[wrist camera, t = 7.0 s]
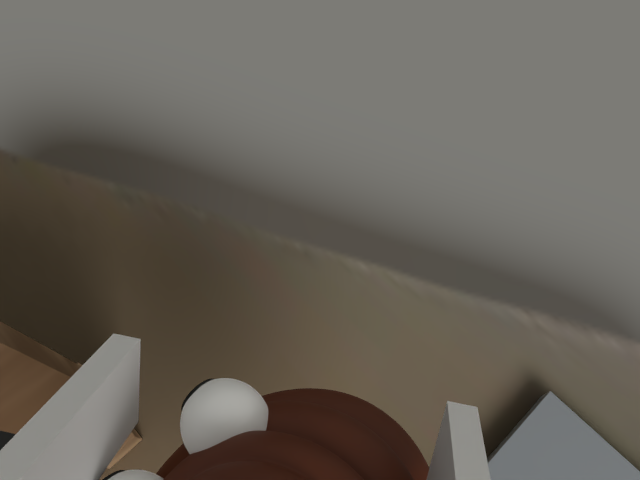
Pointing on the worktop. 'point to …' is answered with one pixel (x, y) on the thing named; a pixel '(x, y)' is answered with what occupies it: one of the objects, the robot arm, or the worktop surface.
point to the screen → (34, 382)
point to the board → (556, 448)
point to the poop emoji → (285, 438)
